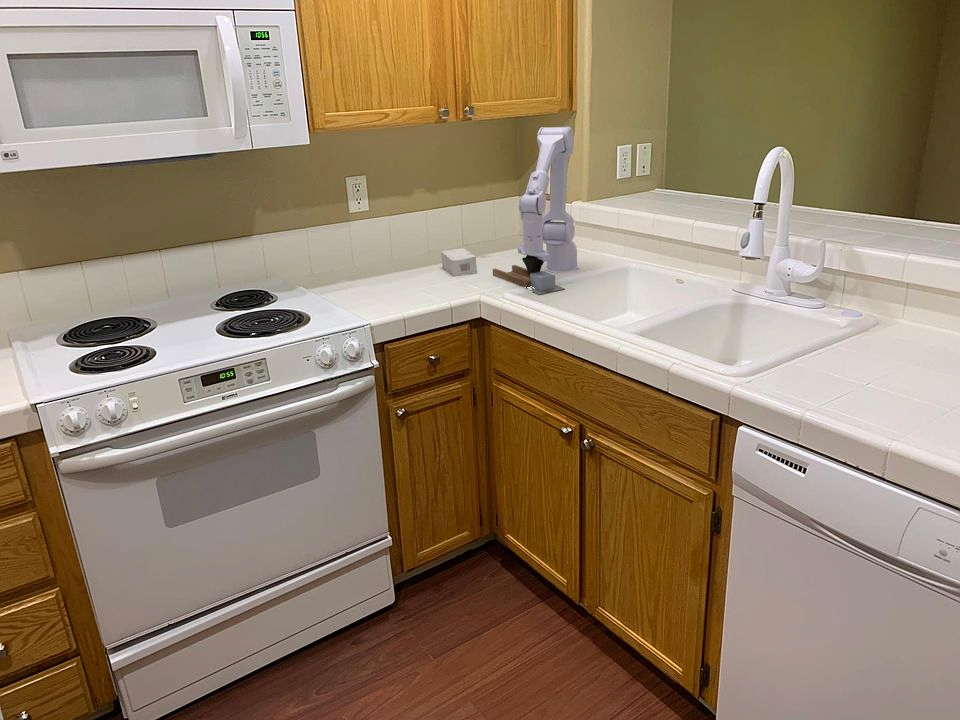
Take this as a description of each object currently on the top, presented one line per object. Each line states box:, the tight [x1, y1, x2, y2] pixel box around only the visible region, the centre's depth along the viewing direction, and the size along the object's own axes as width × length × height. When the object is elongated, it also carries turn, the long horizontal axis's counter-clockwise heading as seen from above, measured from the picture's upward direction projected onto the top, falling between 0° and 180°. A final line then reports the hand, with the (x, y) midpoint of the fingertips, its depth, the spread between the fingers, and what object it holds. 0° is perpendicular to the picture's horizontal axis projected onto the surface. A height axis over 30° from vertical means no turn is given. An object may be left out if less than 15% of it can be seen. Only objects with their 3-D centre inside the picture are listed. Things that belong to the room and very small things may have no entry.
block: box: [530, 270, 556, 291], centre depth 214 cm, size 5×6×4 cm
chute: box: [492, 264, 566, 296], centre depth 221 cm, size 9×27×2 cm, turn 29°
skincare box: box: [440, 247, 478, 277], centre depth 239 cm, size 8×6×15 cm
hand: (534, 280), depth 218 cm, fingers closed
